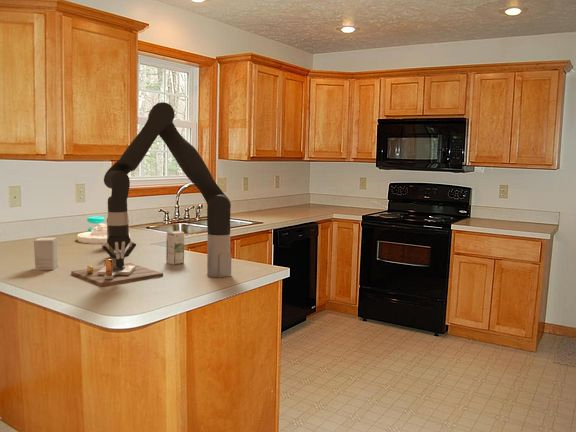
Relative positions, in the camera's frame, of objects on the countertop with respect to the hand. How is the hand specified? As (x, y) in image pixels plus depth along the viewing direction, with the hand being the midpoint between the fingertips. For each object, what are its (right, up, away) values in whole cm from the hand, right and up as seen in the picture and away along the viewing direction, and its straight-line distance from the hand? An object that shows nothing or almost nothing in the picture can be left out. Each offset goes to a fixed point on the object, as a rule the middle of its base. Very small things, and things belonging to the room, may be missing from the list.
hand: (119, 268), depth 198 cm
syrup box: (+13, -2, +37) cm, 39 cm away
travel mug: (-26, +4, +74) cm, 79 cm away
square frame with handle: (-4, -3, +7) cm, 9 cm away
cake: (-40, +6, +95) cm, 103 cm away
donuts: (-52, +9, +116) cm, 128 cm away
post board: (-4, -4, +11) cm, 12 cm away
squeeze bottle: (-17, 0, +47) cm, 50 cm away
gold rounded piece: (-14, -3, +7) cm, 16 cm away
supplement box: (-37, -2, +20) cm, 42 cm away
